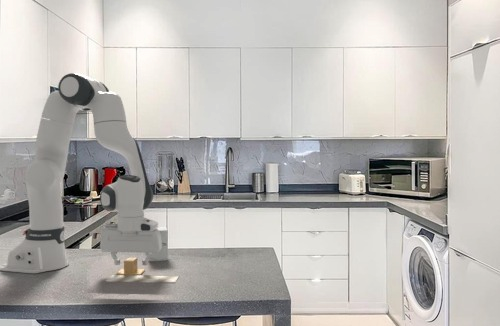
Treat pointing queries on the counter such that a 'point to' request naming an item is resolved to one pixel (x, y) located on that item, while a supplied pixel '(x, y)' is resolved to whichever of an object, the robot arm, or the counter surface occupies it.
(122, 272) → the stepped wooden block
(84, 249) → the counter surface
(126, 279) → the board
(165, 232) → the supplement box
